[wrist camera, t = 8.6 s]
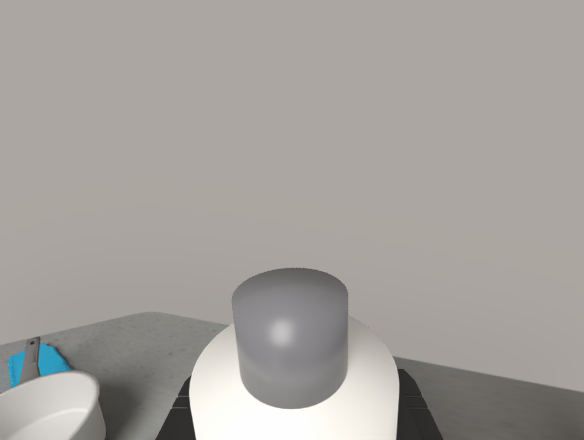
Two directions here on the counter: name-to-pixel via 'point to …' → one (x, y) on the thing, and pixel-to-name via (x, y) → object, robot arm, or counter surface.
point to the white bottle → (294, 367)
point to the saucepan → (51, 404)
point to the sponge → (46, 362)
